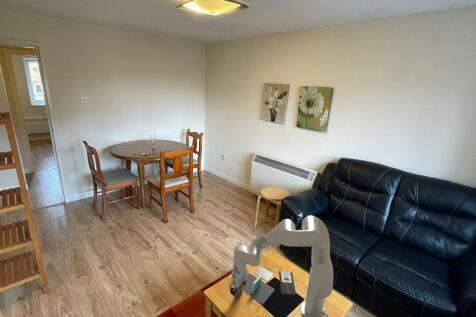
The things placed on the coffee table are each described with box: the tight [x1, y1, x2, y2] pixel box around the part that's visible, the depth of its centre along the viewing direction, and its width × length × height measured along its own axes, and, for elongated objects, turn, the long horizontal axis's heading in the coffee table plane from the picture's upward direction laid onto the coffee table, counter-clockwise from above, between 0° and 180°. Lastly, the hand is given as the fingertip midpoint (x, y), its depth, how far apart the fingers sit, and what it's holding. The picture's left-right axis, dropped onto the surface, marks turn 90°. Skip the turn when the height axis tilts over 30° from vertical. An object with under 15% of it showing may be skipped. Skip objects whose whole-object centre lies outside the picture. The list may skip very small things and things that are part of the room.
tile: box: [252, 275, 262, 293], centre depth 148 cm, size 1×8×7 cm, turn 141°
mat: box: [242, 272, 275, 305], centre depth 150 cm, size 20×14×1 cm
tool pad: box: [254, 266, 274, 282], centre depth 161 cm, size 10×8×1 cm
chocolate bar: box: [278, 270, 297, 296], centre depth 155 cm, size 9×1×18 cm
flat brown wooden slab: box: [233, 283, 243, 301], centre depth 142 cm, size 2×5×10 cm, turn 141°
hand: (237, 289), depth 142 cm, fingers open, 9 cm apart
